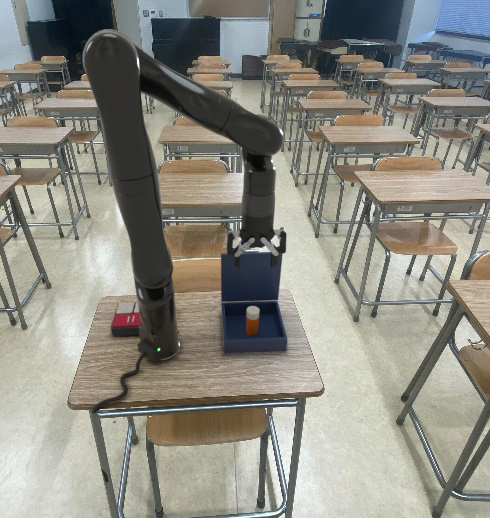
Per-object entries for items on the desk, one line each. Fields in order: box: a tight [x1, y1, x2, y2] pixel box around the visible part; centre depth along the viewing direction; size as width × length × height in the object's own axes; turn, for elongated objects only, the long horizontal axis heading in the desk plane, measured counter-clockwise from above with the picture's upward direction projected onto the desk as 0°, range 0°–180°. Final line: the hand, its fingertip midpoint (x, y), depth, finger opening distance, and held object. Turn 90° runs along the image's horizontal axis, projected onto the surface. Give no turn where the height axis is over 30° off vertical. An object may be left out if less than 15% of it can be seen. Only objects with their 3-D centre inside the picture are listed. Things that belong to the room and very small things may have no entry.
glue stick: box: [246, 306, 260, 336], centre depth 109 cm, size 4×4×8 cm
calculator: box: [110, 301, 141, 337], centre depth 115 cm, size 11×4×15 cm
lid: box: [220, 248, 284, 303], centre depth 113 cm, size 16×17×5 cm
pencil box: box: [220, 300, 288, 354], centre depth 111 cm, size 16×17×5 cm
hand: (255, 266), depth 99 cm, fingers open, 8 cm apart
